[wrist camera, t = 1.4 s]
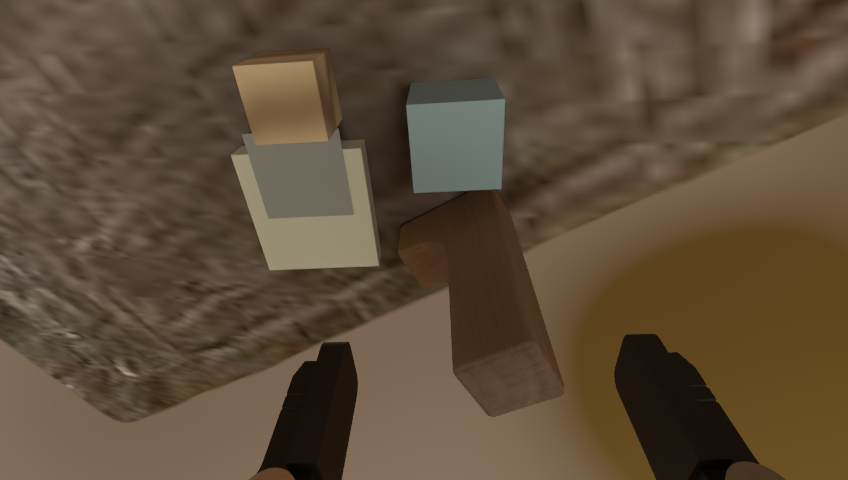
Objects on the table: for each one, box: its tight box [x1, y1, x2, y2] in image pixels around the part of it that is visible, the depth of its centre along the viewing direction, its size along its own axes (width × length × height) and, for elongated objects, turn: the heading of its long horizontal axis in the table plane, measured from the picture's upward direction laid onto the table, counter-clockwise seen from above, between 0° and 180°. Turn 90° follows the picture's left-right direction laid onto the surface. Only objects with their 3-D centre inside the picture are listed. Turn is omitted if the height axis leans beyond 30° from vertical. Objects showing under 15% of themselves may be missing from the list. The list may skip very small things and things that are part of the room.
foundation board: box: [231, 128, 381, 270], centre depth 34 cm, size 13×10×2 cm
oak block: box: [232, 48, 342, 145], centre depth 28 cm, size 5×5×5 cm
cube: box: [406, 78, 505, 193], centre depth 29 cm, size 6×6×6 cm
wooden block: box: [398, 189, 564, 417], centre depth 29 cm, size 9×4×18 cm, turn 121°
